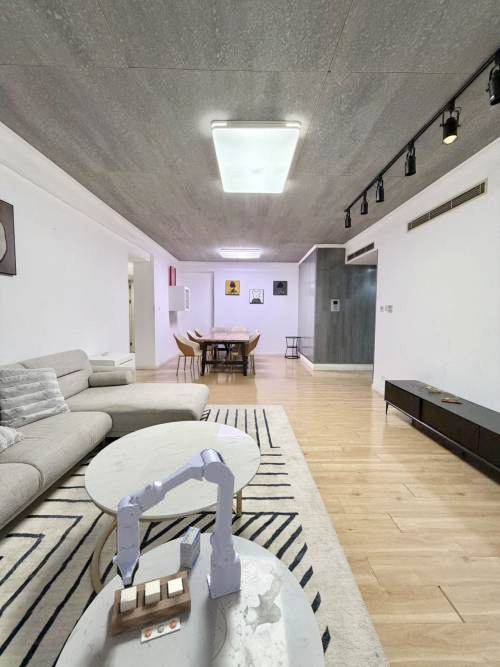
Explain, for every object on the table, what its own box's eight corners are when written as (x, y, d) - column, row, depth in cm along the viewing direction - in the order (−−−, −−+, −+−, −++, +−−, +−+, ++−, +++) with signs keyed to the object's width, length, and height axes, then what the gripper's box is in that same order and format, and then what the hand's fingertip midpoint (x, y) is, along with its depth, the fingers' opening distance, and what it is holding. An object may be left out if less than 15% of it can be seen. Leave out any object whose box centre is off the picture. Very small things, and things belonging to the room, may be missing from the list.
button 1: (136, 596, 84) (136, 586, 84) (136, 609, 80) (136, 598, 80) (121, 600, 83) (121, 590, 82) (120, 614, 79) (120, 603, 79)
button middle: (159, 589, 86) (159, 579, 86) (160, 601, 83) (160, 591, 82) (145, 593, 85) (145, 583, 85) (145, 606, 81) (145, 596, 81)
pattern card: (179, 618, 81) (179, 616, 81) (180, 629, 78) (180, 627, 78) (141, 630, 77) (141, 629, 77) (141, 642, 74) (141, 641, 74)
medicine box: (191, 569, 96) (192, 545, 96) (179, 566, 97) (179, 542, 97) (200, 550, 104) (200, 527, 103) (189, 548, 105) (189, 525, 104)
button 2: (181, 587, 89) (181, 577, 88) (182, 599, 85) (182, 589, 85) (167, 591, 87) (167, 581, 87) (168, 603, 84) (168, 593, 83)
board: (186, 580, 92) (186, 570, 92) (190, 610, 83) (191, 599, 83) (115, 601, 85) (115, 590, 85) (111, 637, 76) (111, 625, 75)
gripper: (115, 525, 86) (115, 567, 86) (109, 565, 72) (110, 615, 73) (140, 520, 88) (140, 561, 89) (139, 558, 74) (139, 606, 75)
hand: (128, 585), depth 81 cm, fingers closed
